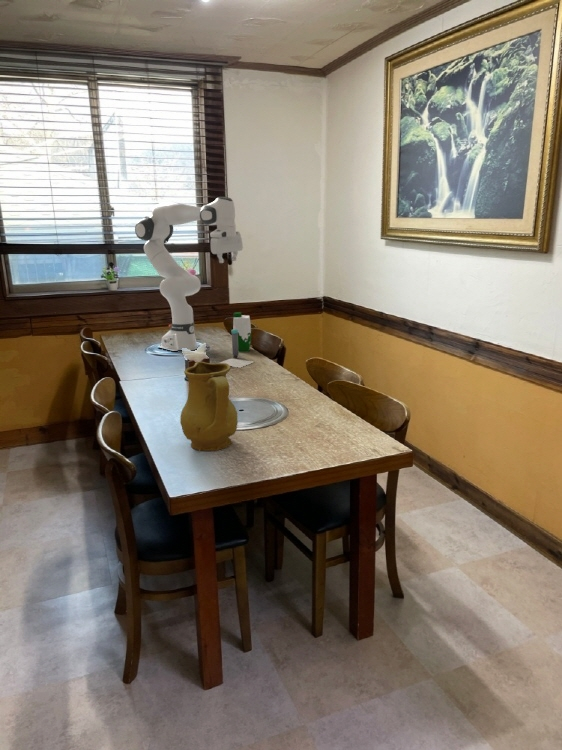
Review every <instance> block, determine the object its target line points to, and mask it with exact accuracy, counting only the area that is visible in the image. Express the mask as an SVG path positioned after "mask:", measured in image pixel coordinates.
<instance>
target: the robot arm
mask: <svg viewBox="0 0 562 750" xmlns="http://www.w3.org/2000/svg"><path fill="white" fill-rule="evenodd" d="M235 208H236V207H235V203H234V200H233V199H232V198H230V197H226V196H218V197H217V198H215V200H214V201H212V202H210V203H208V204H204V205H202V206H195V205H189V204H186V203H185V204H184V203H180V202H173V201H172V202H171V201H170V202H160V203H158V204H155V205H154V206H153V208H152V212H151V216H145V217H144V218H142V219H139V221H137V223H135V227H134V233H135V235H136V237H137V238H138V239H139V240H142V241H145V244H144V245H143V251H144V254H145V256H146V258H147V259H148V261H149V262H150V264H151V266H152V267H153V268H154V269H155V271H156V272H157V274H158V275H159V276H160V277H162V278H163V279H162V280H161V282H160V283H159V292H160V295H162V296H163V297H164V298H165V299H166V300H167V302H168V304H169V306H170V310H171V318H172V319H171V321H172V322H171V323H169V324H168V327H170V328H169V330H168V331H167V332H166V333H165V334H164V335H162V337H161V342H160V343H161V344H160V345H161V346H160V345H157V347H160V348H164V349H168V350H172V351H177V350H181V349H182V348H187V349H190V351H195V350H196V349H198V348H199V346H198V343H197V340H196V334H195V328H196V327H195V322H194V311H193V307H192V306H191V305H190V304H188V302H187V298H186V297H189V296H193V295H195V294H197V293H198V292H200V290H201V280H200V278H199V277H198V276H196V275H194V274H192V273H190V272H188V271H187V270H186V269H184V268H183V267H182V266H181V265H180V264H178V262H177V261H176V260H175V259H174V256H172V254H170V252H169V251H168V249H167V248H166V247H165V244H167V243H168V242H169V241H170V239H171V237H172V236H173V233H174V226H179V225H184V224H188V223H192V222H193V223H194V222H196V221H201V223H202V224H204V225H206V226H216V229H214V230H213V231H211V232H210V233H209V236H210V238H211V239H210V251H211V253H212V254H213V255H216V257H217V259H218V263H219V264H223V263H225V259H224V258H223V254H226V253H232V256H231V261H232V262H235V261H237V257H238V253H239V252H240V251H242V250H243V248H244V247H243V238H242V236H241V233H240V232H239V231H237V230H236V228H237V226H236V222H235V219H236V209H235ZM197 347H198V348H197Z"/></svg>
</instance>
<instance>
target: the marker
mask: <svg viewBox="0 0 562 750" xmlns="http://www.w3.org/2000/svg"><path fill="white" fill-rule="evenodd" d="M231 346H232V347H231V350H232V357H233V359H237V357H239V352H238V330H237V329H231Z"/></svg>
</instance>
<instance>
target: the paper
mask: <svg viewBox="0 0 562 750" xmlns="http://www.w3.org/2000/svg"><path fill="white" fill-rule="evenodd" d="M219 363H226V364H229V365H230V366H232V367H231V368H237V367H238V369H241V367H242V368H243V366H244V367H247V366H249V365H251V363H252V364H254V363H255V361H252V360H245V359H237V358H228V359H225V360H222V361H221V362H219ZM246 365H247V366H246Z"/></svg>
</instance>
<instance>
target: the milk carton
mask: <svg viewBox="0 0 562 750" xmlns="http://www.w3.org/2000/svg"><path fill="white" fill-rule="evenodd" d="M232 324H233V329H237V330H238V351H243V352H250V349H251V344H252V327H251V326H252V325H251V318H250V315H245V314H244V315H242V312H240V311H238V312H233V322H232ZM233 329H232V330H233Z"/></svg>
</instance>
